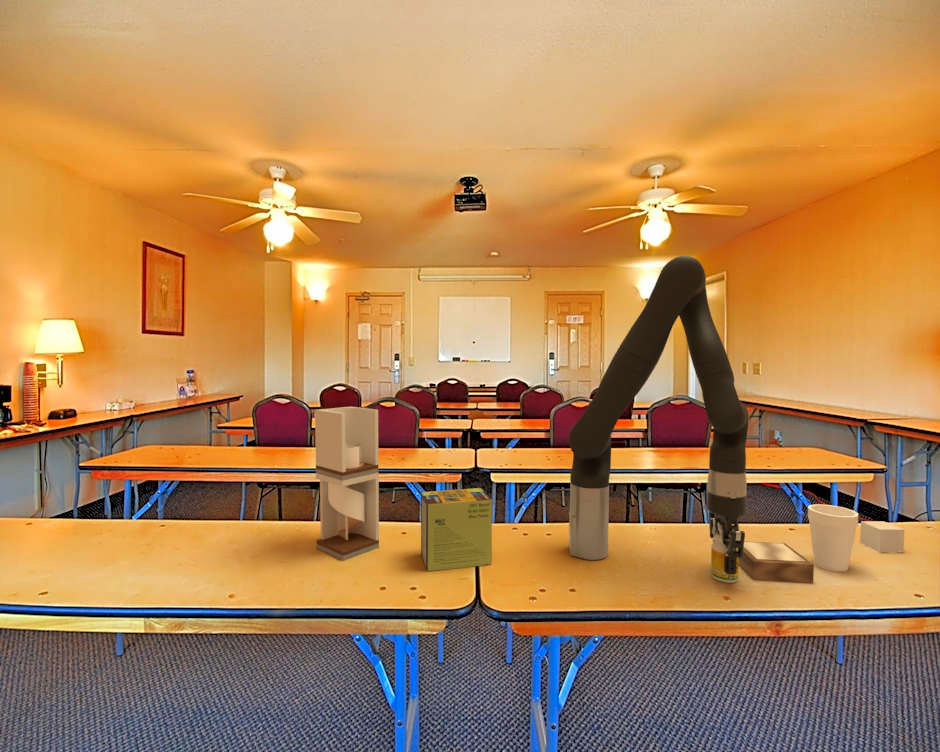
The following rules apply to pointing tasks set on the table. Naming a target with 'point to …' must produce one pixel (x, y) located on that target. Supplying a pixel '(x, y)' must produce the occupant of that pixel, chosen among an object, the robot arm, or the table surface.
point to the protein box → (456, 529)
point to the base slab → (775, 563)
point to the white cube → (882, 536)
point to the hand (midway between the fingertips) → (724, 566)
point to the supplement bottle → (721, 562)
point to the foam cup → (832, 535)
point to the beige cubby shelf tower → (348, 480)
